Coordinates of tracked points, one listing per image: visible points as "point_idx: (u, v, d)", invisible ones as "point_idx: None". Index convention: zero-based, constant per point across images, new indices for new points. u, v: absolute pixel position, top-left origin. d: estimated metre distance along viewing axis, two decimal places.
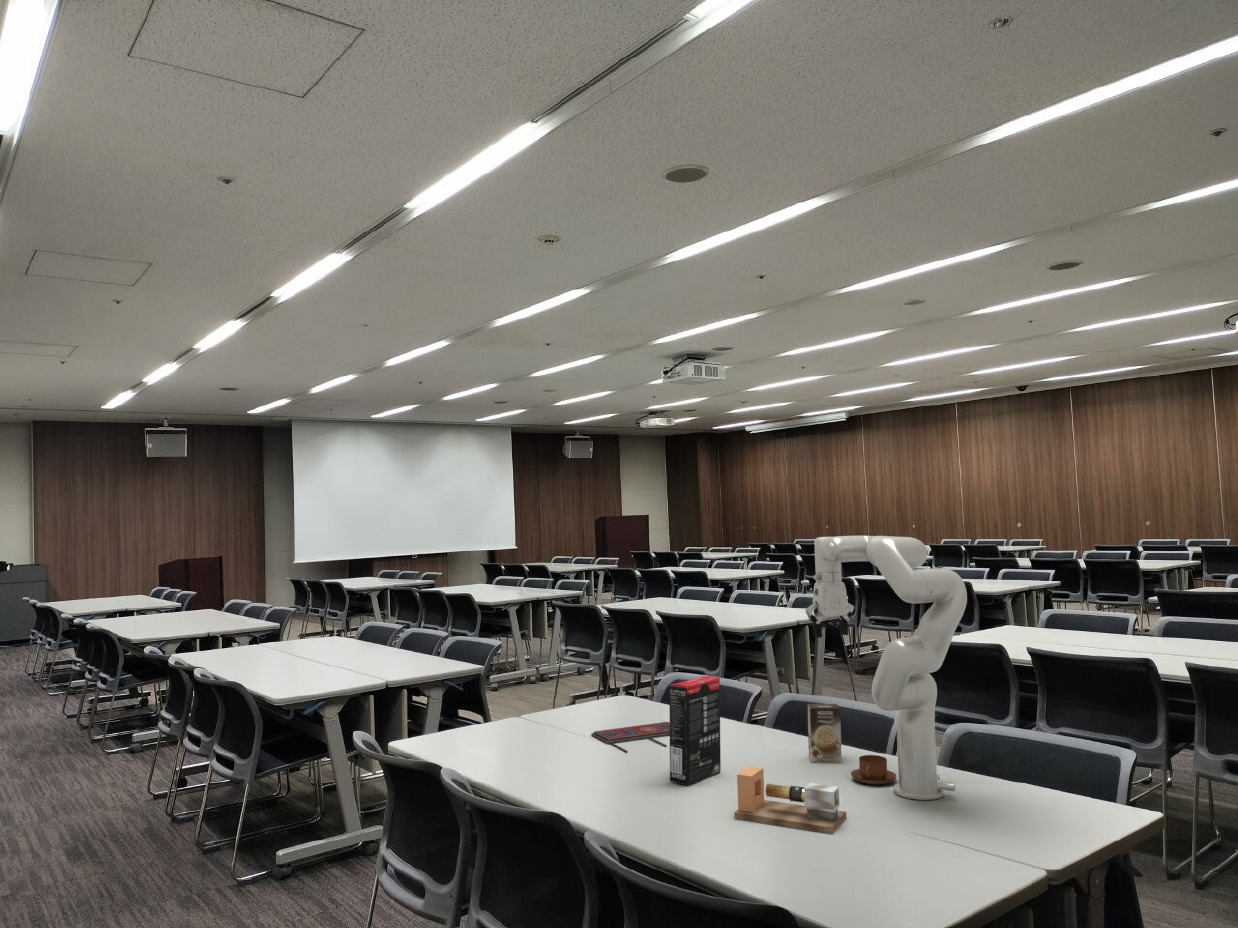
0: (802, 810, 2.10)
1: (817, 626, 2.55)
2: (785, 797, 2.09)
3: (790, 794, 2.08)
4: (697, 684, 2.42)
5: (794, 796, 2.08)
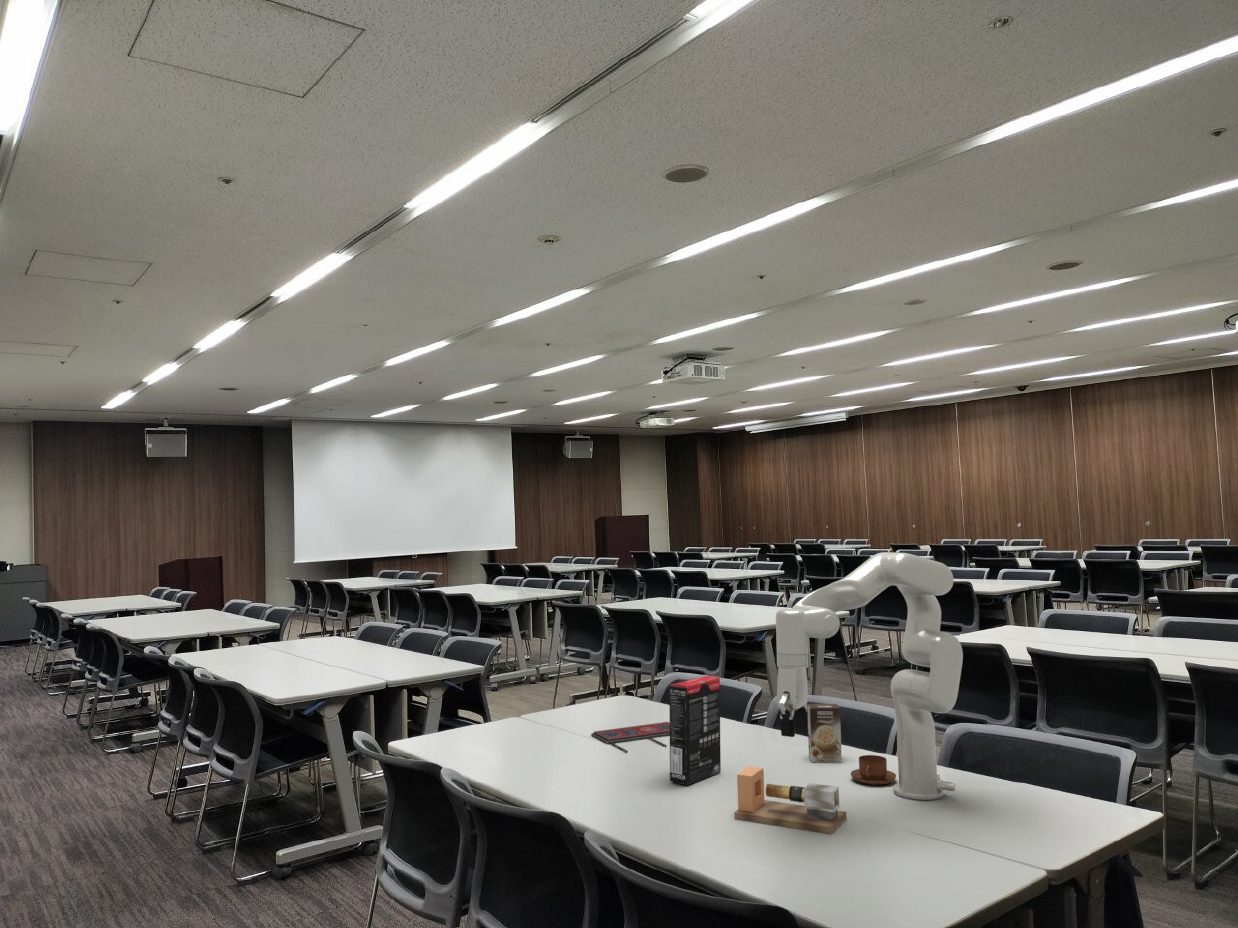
0: (802, 810, 2.10)
1: None
2: (785, 797, 2.09)
3: (790, 794, 2.08)
4: (697, 684, 2.42)
5: (794, 796, 2.08)
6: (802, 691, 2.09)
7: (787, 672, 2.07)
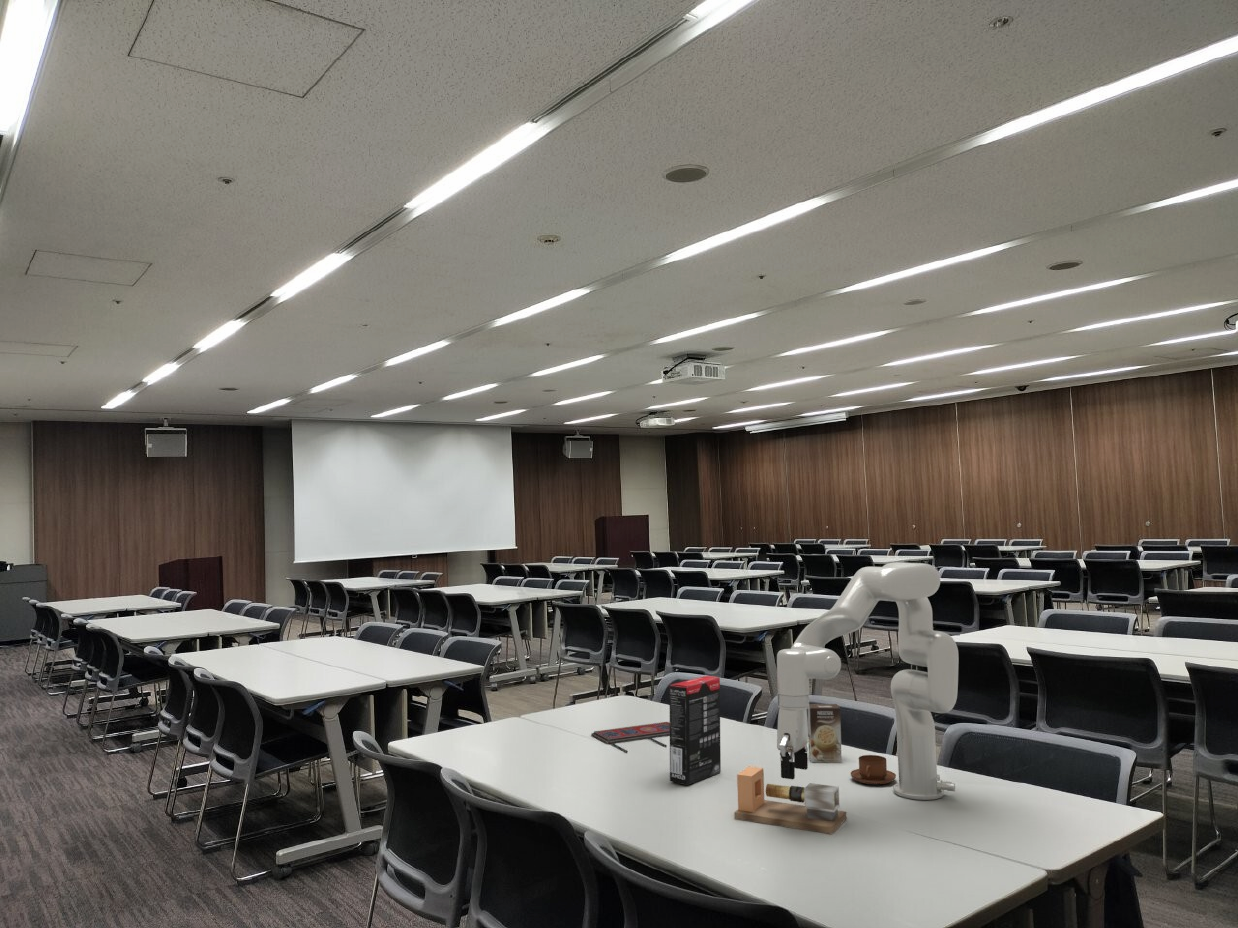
0: (802, 810, 2.10)
1: None
2: (785, 797, 2.09)
3: (790, 794, 2.08)
4: (697, 684, 2.42)
5: (794, 796, 2.08)
6: (802, 733, 2.08)
7: (787, 714, 2.06)
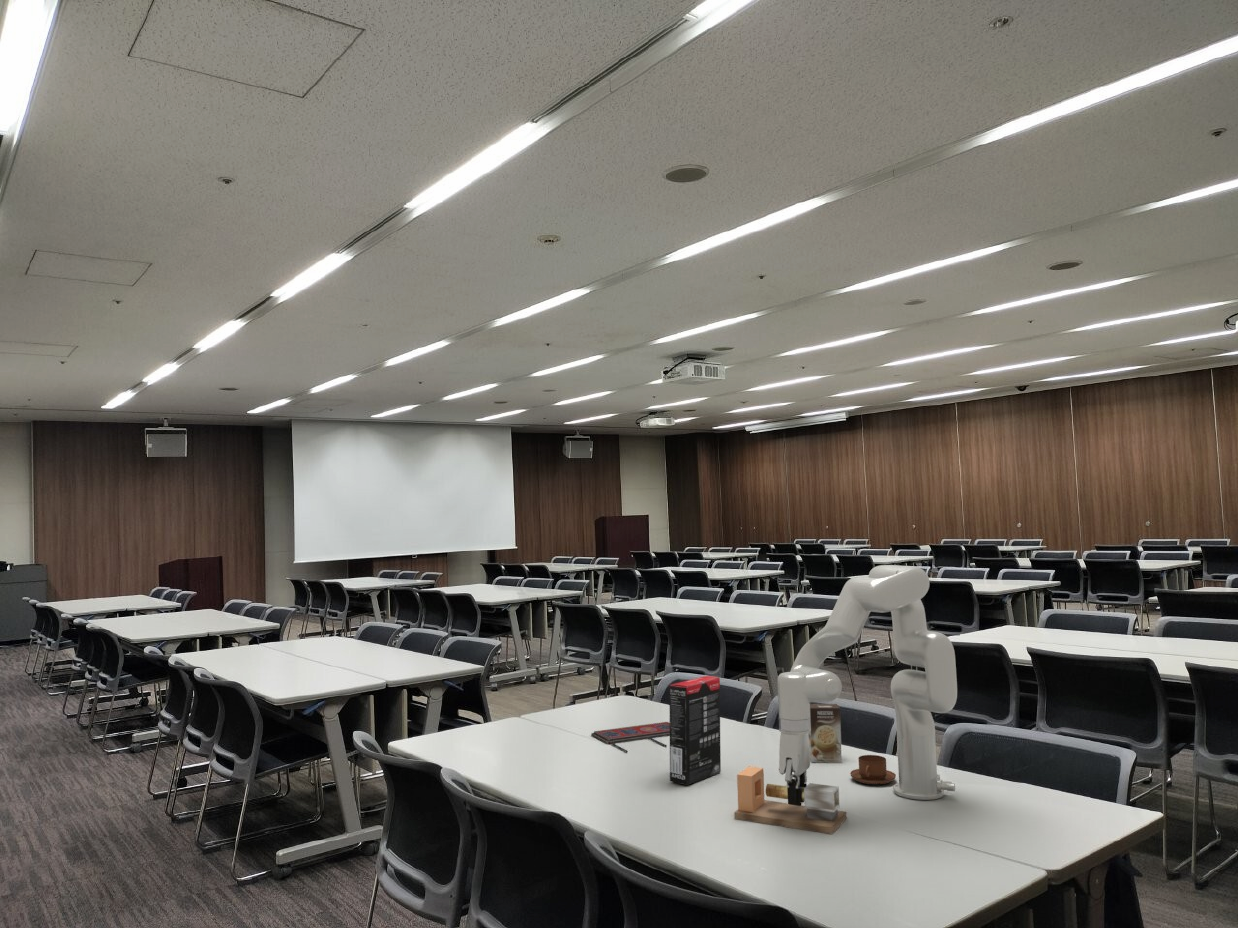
0: (802, 810, 2.10)
1: None
2: (785, 797, 2.09)
3: None
4: (697, 684, 2.42)
5: None
6: (804, 756, 2.08)
7: (789, 738, 2.06)
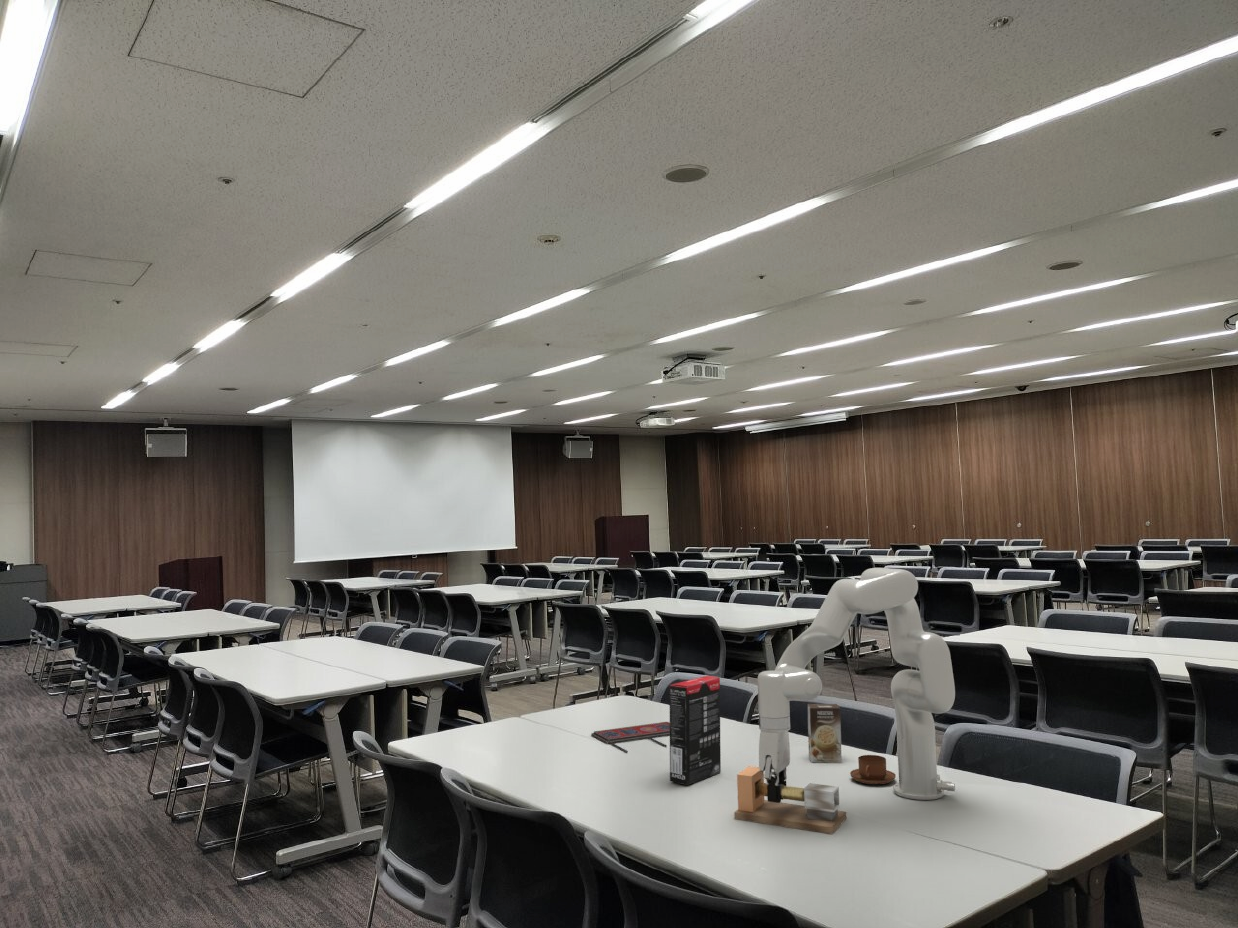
0: (802, 810, 2.10)
1: None
2: (765, 794, 2.12)
3: None
4: (697, 684, 2.42)
5: None
6: (784, 754, 2.11)
7: (769, 736, 2.08)
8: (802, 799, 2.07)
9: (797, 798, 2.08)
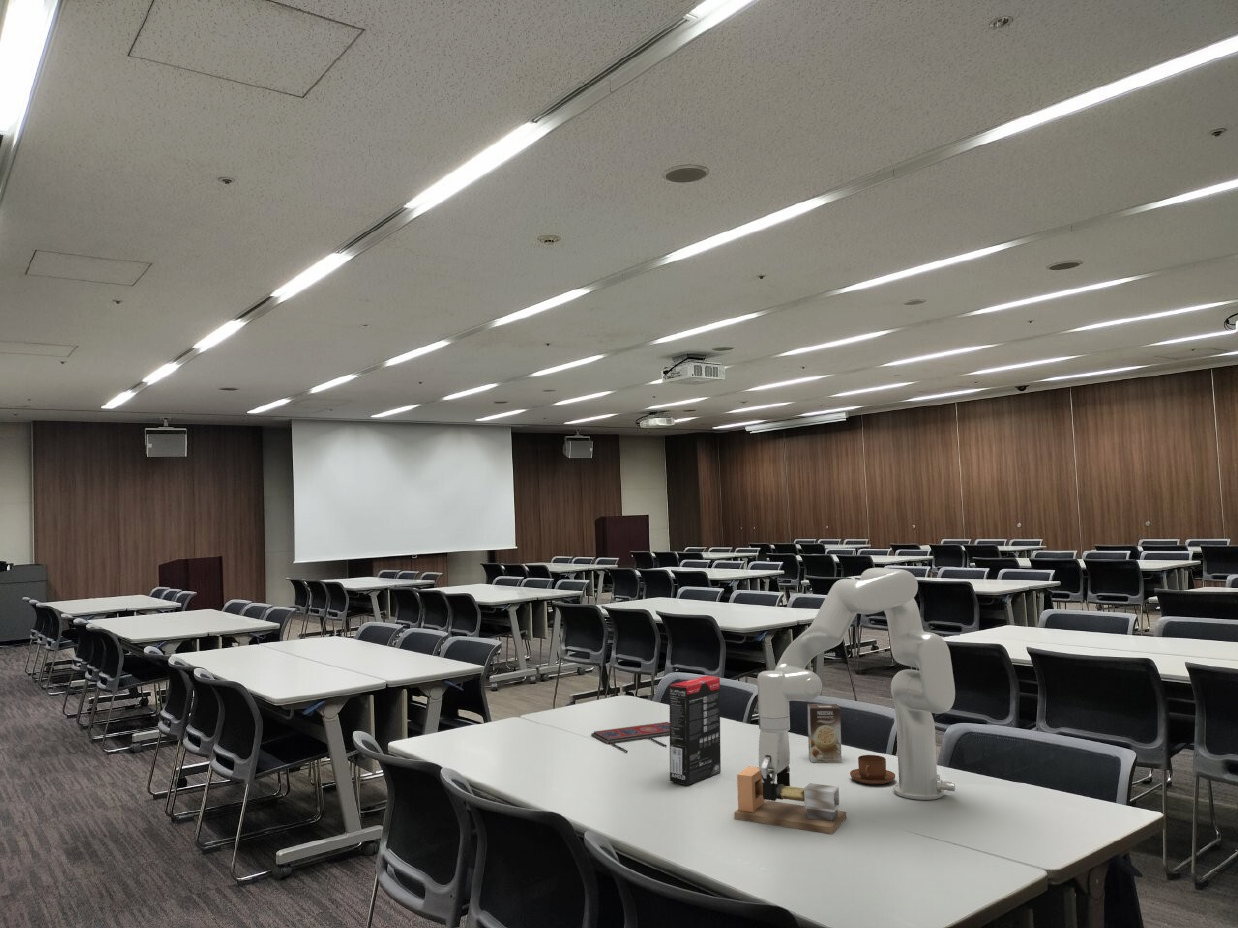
0: (802, 810, 2.10)
1: None
2: None
3: None
4: (697, 684, 2.42)
5: None
6: (784, 754, 2.11)
7: (768, 736, 2.09)
8: (802, 799, 2.07)
9: (797, 798, 2.08)
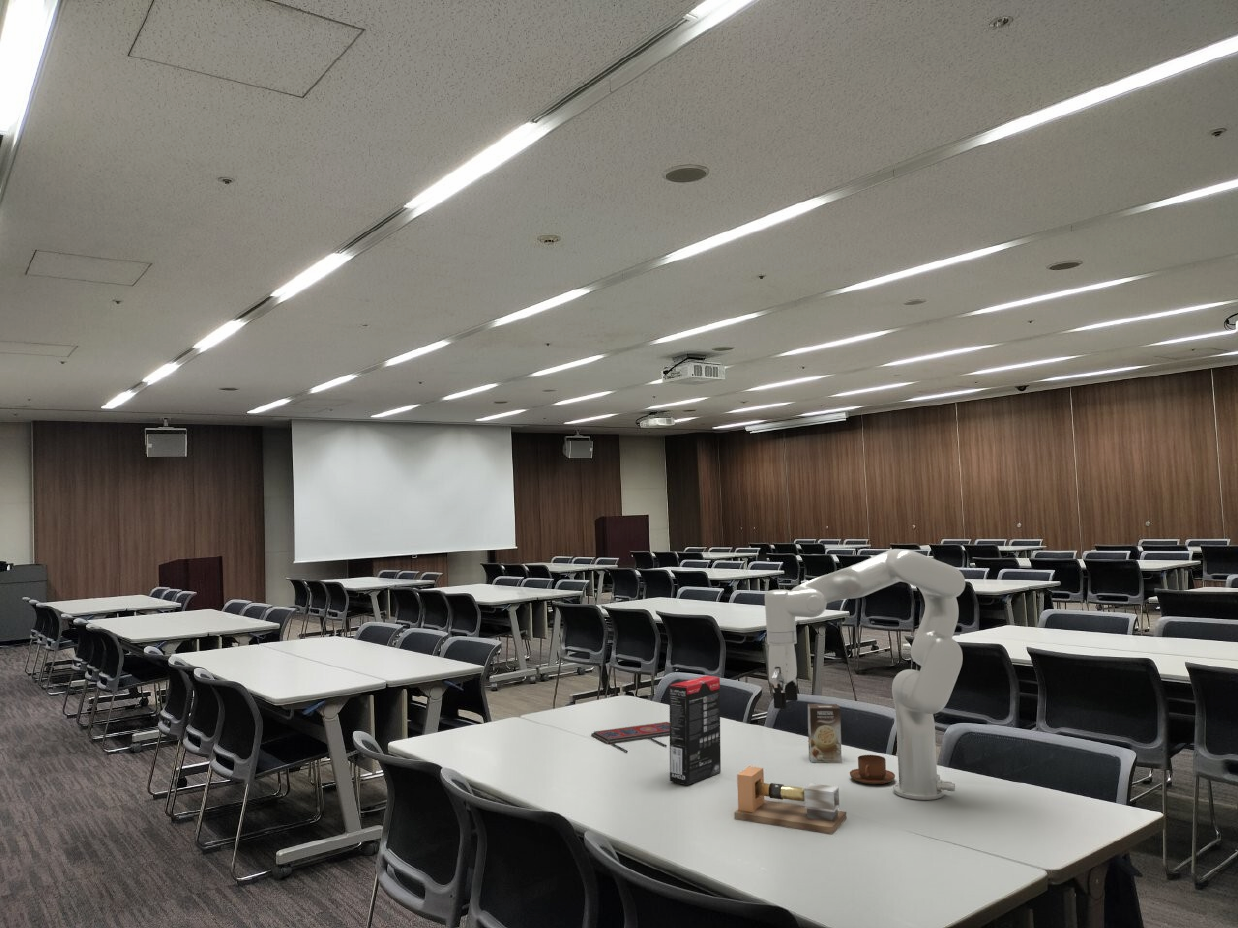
0: (802, 810, 2.10)
1: None
2: (765, 794, 2.12)
3: (769, 791, 2.11)
4: (697, 684, 2.42)
5: (773, 793, 2.10)
6: (792, 666, 2.24)
7: (777, 649, 2.22)
8: (802, 799, 2.07)
9: (797, 798, 2.08)
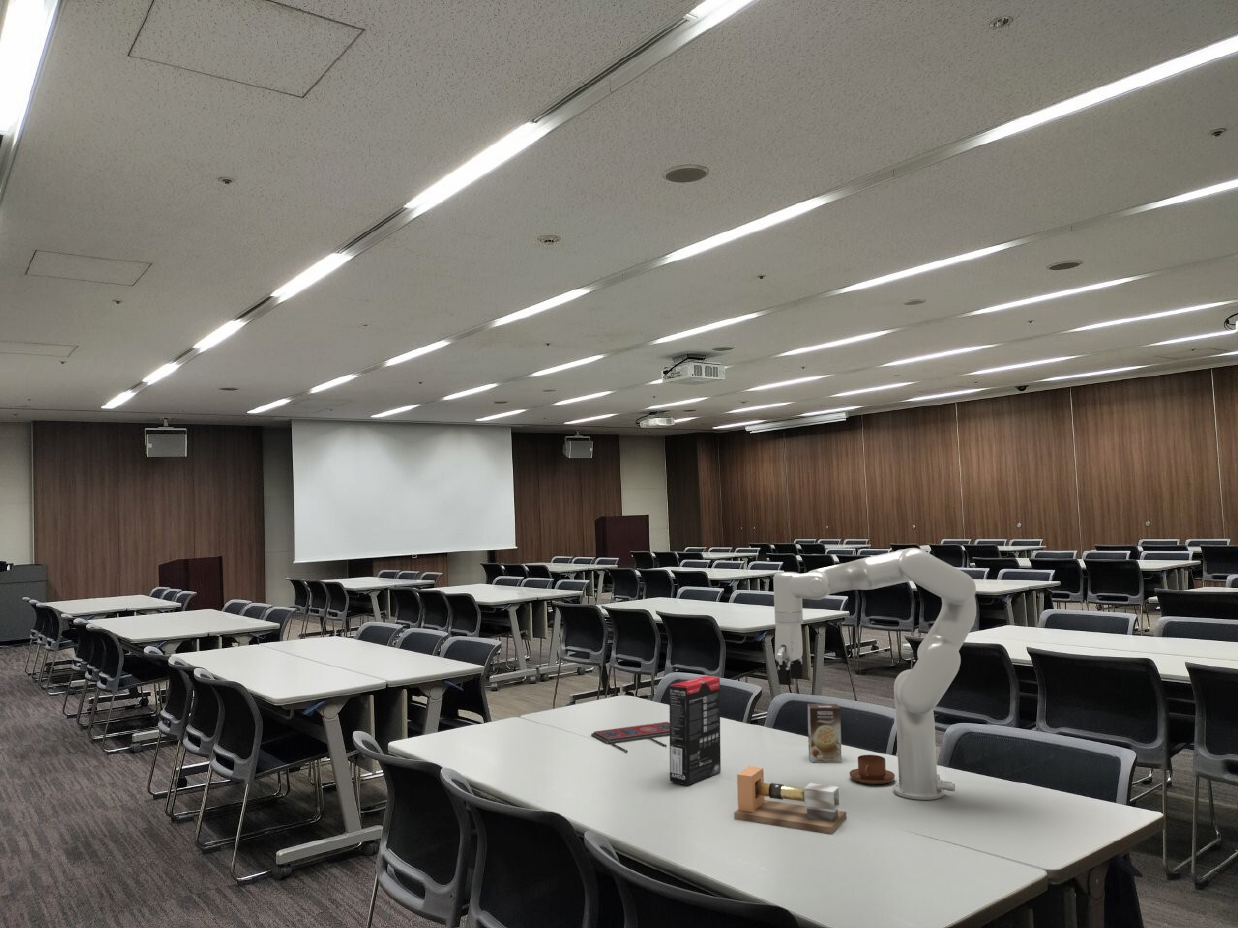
0: (802, 810, 2.10)
1: None
2: (765, 794, 2.12)
3: (769, 791, 2.11)
4: (697, 684, 2.42)
5: (773, 793, 2.10)
6: (797, 645, 2.34)
7: (784, 628, 2.32)
8: (802, 799, 2.07)
9: (797, 798, 2.08)
